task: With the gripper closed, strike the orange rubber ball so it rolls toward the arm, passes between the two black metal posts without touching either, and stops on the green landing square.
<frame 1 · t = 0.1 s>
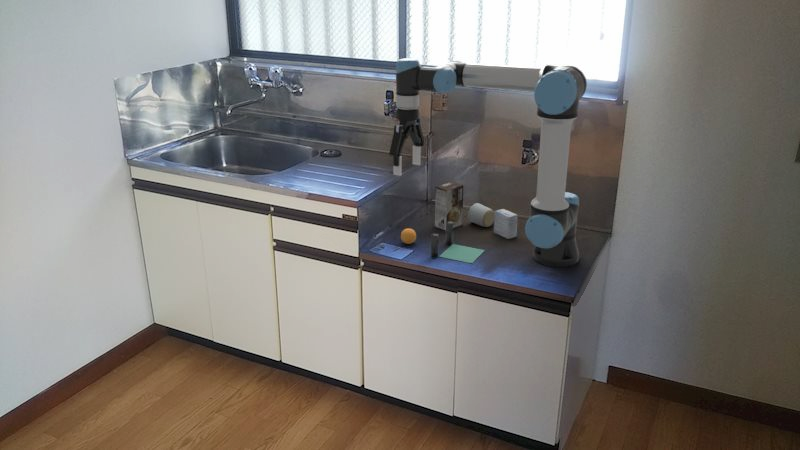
hand: (407, 169, 230), 28 cm above the countertop, tool pointing down, fingers open, 13 cm apart
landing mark: (462, 253, 233), on the countertop
white cylinder: (483, 224, 260), on the countertop
coffee box: (448, 226, 258), on the countertop
post 2: (449, 243, 242), on the countertop
post 1: (434, 256, 231), on the countertop
medicine box: (504, 235, 249), on the countertop
ball: (408, 236, 241), on the countertop
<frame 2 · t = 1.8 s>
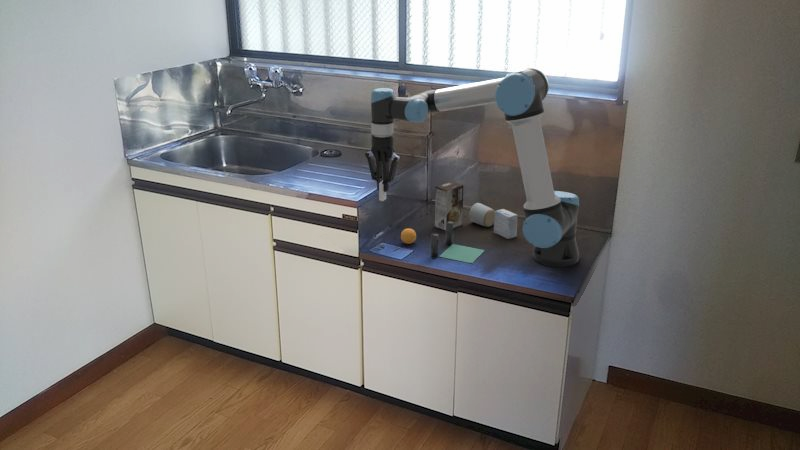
hand: (382, 199, 241), 15 cm above the countertop, tool pointing down, fingers closed
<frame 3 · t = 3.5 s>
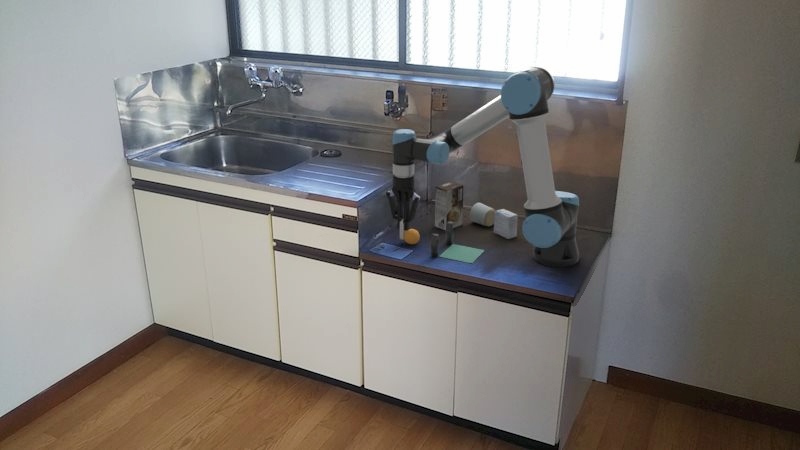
hand: (403, 237, 242), 2 cm above the countertop, tool pointing down, fingers closed
ball: (411, 236, 241), on the countertop, touching gripper
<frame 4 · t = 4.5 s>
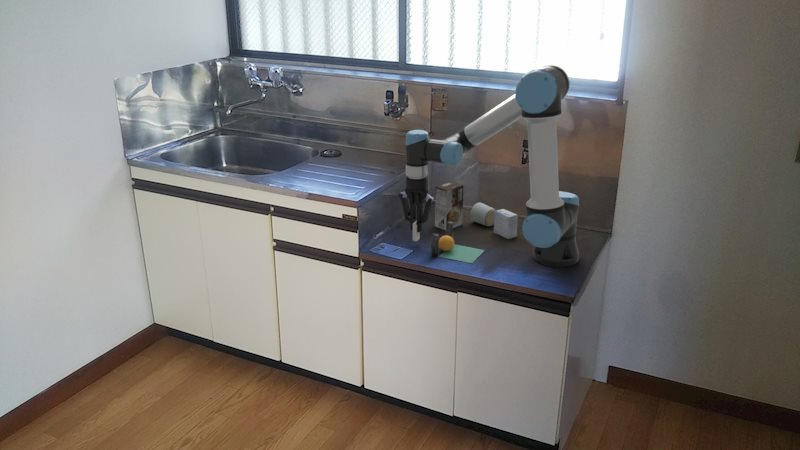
hand: (416, 239, 240), 2 cm above the countertop, tool pointing down, fingers closed
ball: (446, 243, 235), on the countertop
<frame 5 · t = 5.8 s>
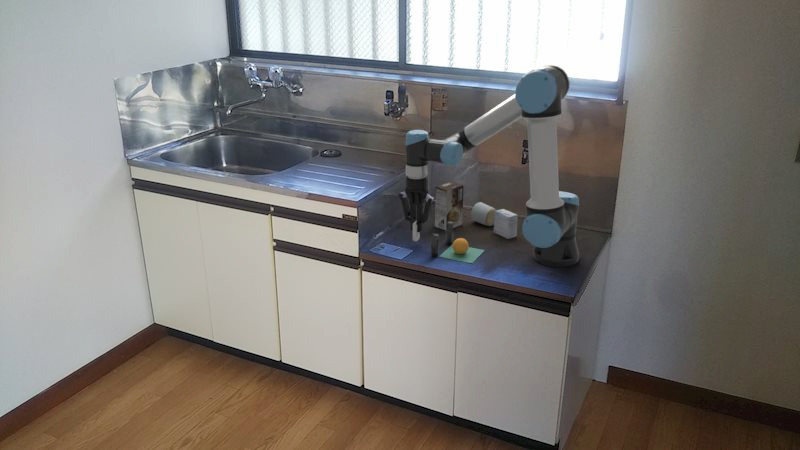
hand: (416, 239, 240), 2 cm above the countertop, tool pointing down, fingers closed
ball: (460, 246, 233), on the countertop
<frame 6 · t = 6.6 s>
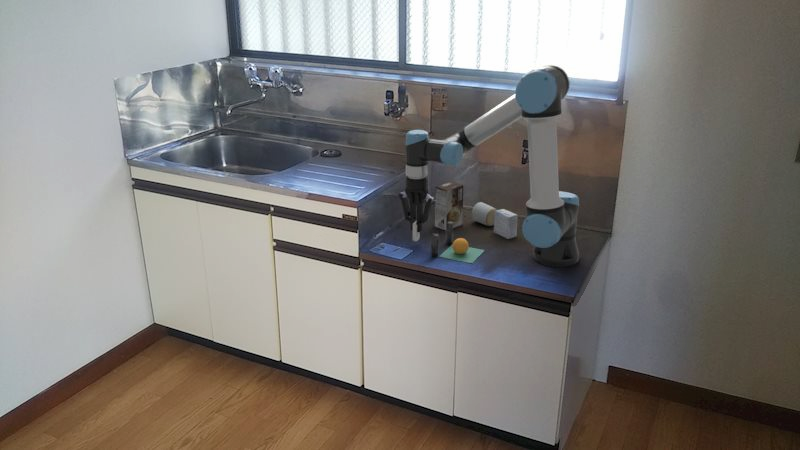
hand: (416, 239, 240), 2 cm above the countertop, tool pointing down, fingers closed
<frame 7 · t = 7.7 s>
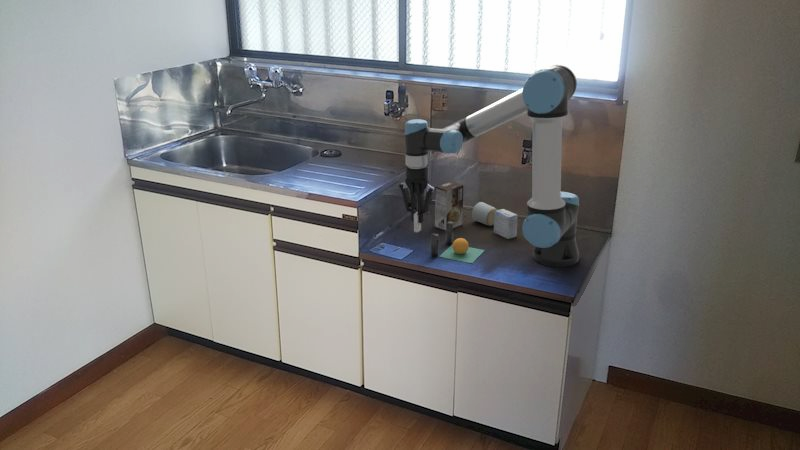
hand: (417, 230, 239), 5 cm above the countertop, tool pointing down, fingers closed
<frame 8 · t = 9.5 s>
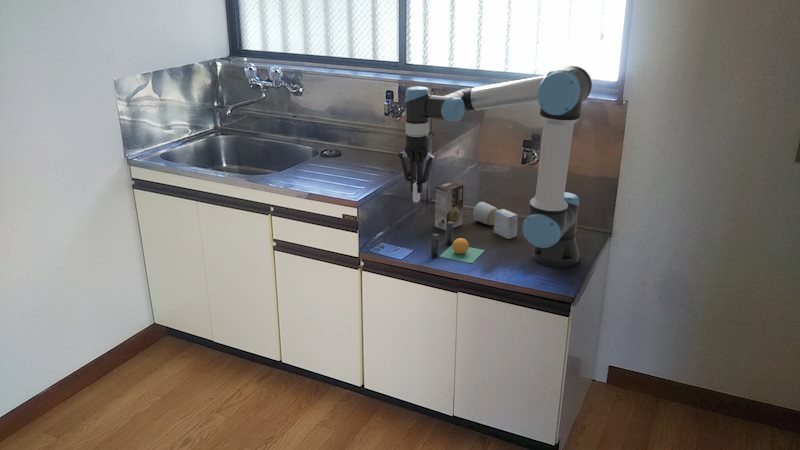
hand: (416, 201, 235), 16 cm above the countertop, tool pointing down, fingers closed
at the end: ball 0.7 cm from the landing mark (horizontally); ball never touched post 1; ball never touched post 2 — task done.
